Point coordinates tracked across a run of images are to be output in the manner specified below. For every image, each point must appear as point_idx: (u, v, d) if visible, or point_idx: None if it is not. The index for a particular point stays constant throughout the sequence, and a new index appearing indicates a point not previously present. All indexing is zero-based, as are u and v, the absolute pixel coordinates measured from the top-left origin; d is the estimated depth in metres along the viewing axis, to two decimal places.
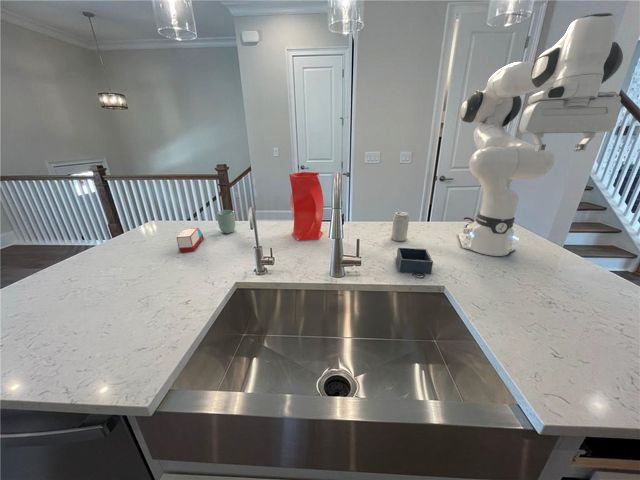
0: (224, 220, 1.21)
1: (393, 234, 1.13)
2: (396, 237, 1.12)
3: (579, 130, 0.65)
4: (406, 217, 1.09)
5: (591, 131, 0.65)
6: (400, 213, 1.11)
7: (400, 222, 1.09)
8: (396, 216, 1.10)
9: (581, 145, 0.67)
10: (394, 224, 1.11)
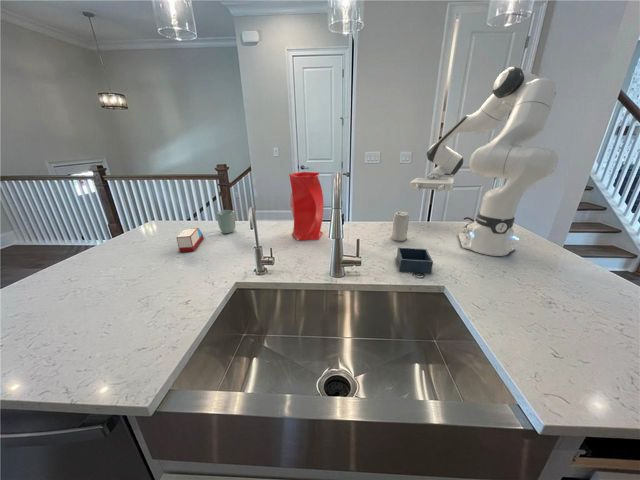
0: (224, 220, 1.21)
1: (393, 234, 1.13)
2: (396, 237, 1.12)
3: None
4: (406, 217, 1.09)
5: None
6: (400, 213, 1.11)
7: (400, 222, 1.09)
8: (396, 216, 1.10)
9: None
10: (394, 224, 1.11)
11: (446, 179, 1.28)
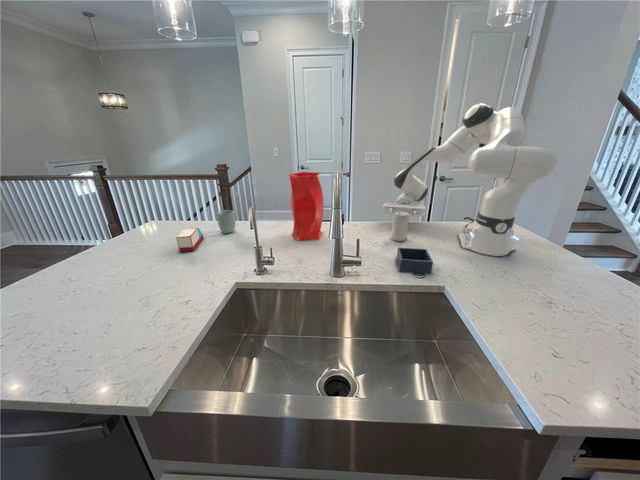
0: (224, 220, 1.21)
1: (393, 234, 1.13)
2: (396, 237, 1.12)
3: None
4: (406, 217, 1.09)
5: None
6: (400, 213, 1.11)
7: (400, 222, 1.09)
8: (396, 216, 1.10)
9: None
10: (394, 224, 1.11)
11: (416, 205, 1.28)
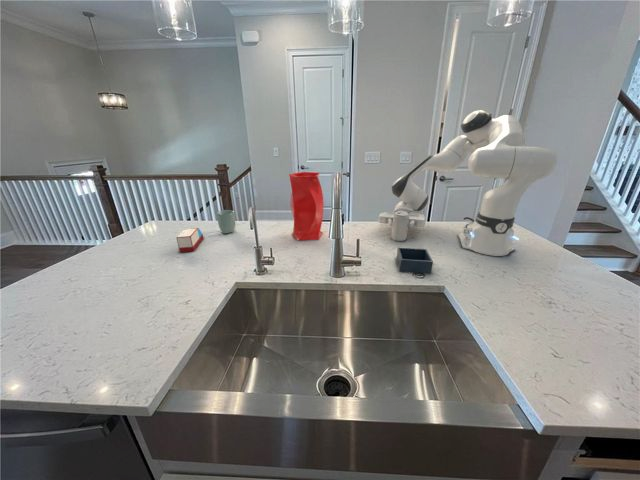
0: (224, 220, 1.21)
1: (393, 234, 1.13)
2: (396, 237, 1.12)
3: None
4: (406, 217, 1.09)
5: (388, 223, 1.18)
6: (400, 213, 1.11)
7: (400, 223, 1.09)
8: (396, 216, 1.10)
9: None
10: (394, 224, 1.11)
11: (416, 215, 1.18)
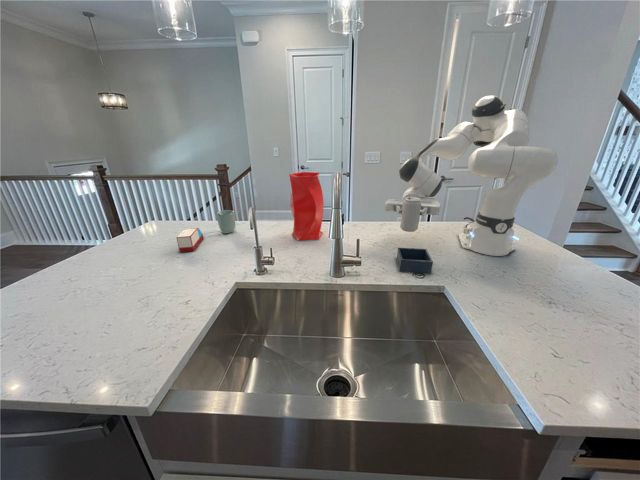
0: (224, 220, 1.21)
1: (402, 224, 0.96)
2: (406, 227, 0.95)
3: None
4: (418, 203, 0.92)
5: None
6: (411, 198, 0.94)
7: (411, 210, 0.92)
8: (406, 202, 0.93)
9: None
10: (403, 212, 0.94)
11: (429, 202, 1.01)
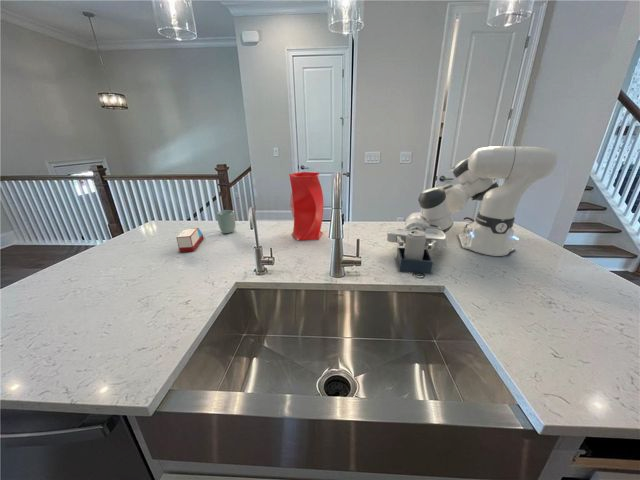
0: (224, 220, 1.21)
1: (405, 258, 0.90)
2: None
3: None
4: (423, 238, 0.85)
5: None
6: (415, 232, 0.88)
7: (415, 245, 0.86)
8: (410, 236, 0.87)
9: None
10: (407, 246, 0.88)
11: (434, 232, 0.94)
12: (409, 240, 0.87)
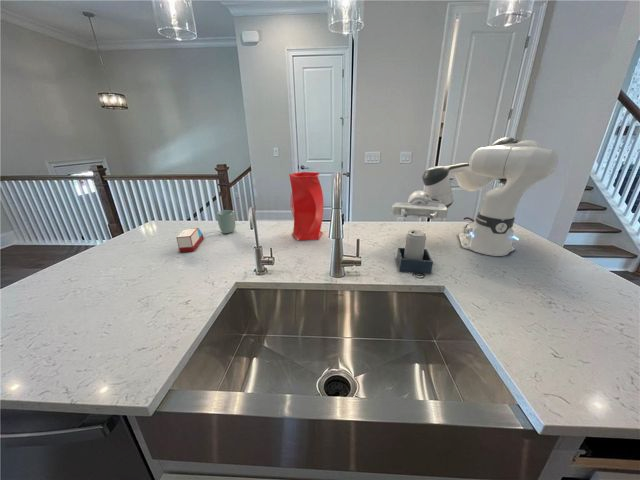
0: (224, 220, 1.21)
1: (405, 258, 0.90)
2: None
3: None
4: (423, 238, 0.85)
5: None
6: (415, 232, 0.88)
7: (415, 245, 0.86)
8: (410, 236, 0.87)
9: None
10: (407, 246, 0.88)
11: (435, 205, 1.01)
12: (409, 240, 0.87)
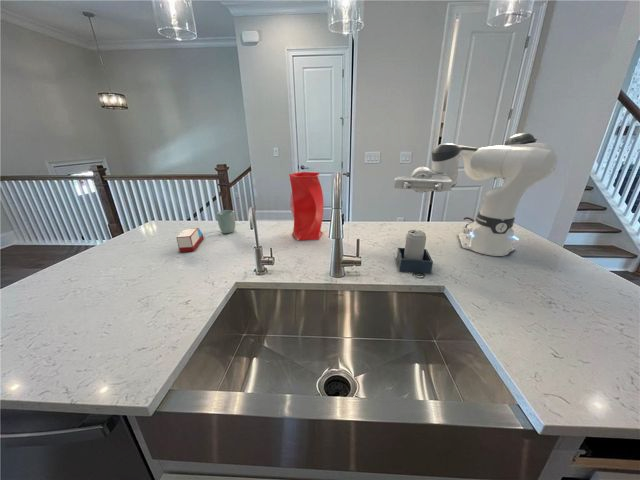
0: (224, 220, 1.21)
1: (405, 258, 0.90)
2: None
3: (415, 189, 0.97)
4: (423, 238, 0.85)
5: None
6: (415, 232, 0.88)
7: (415, 245, 0.86)
8: (410, 236, 0.87)
9: None
10: (407, 246, 0.88)
11: (440, 178, 0.97)
12: (409, 240, 0.87)
